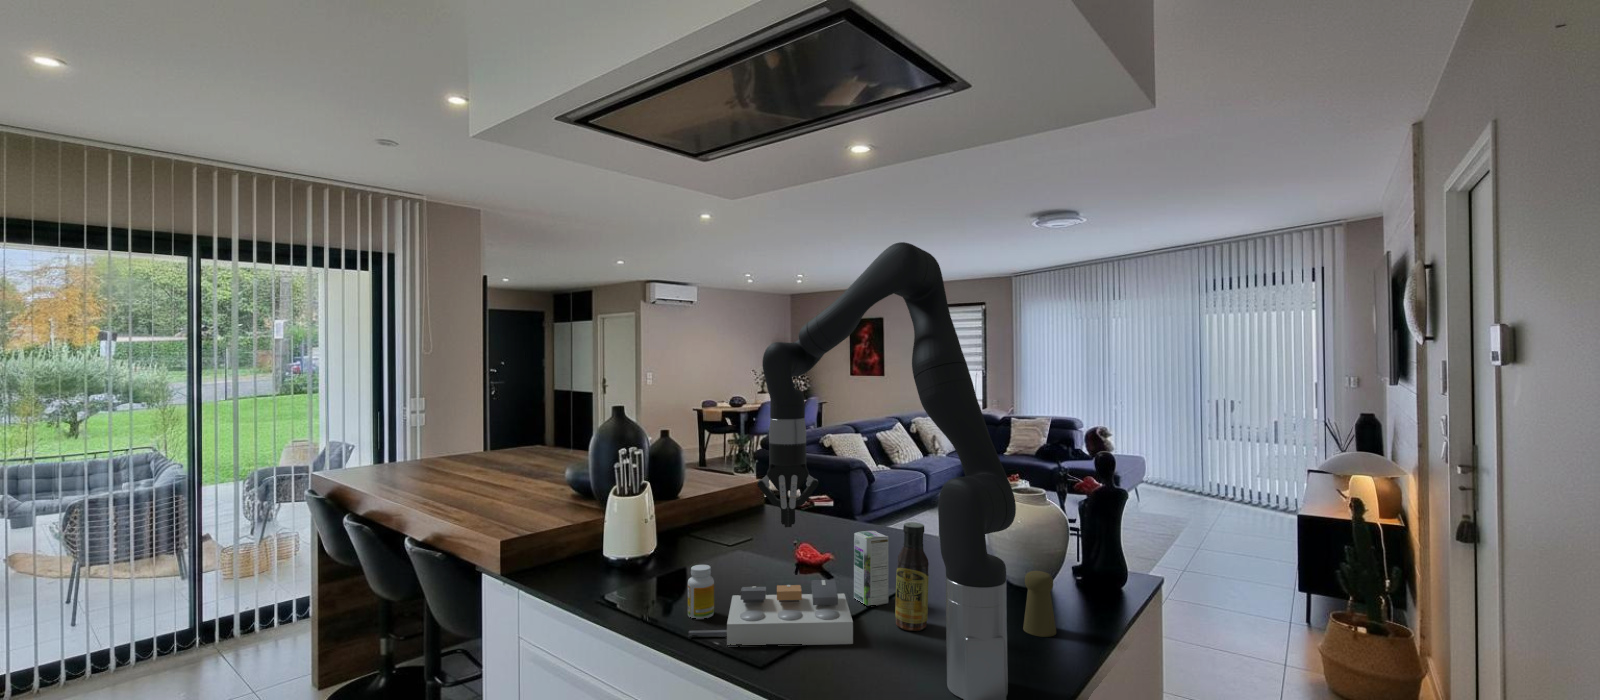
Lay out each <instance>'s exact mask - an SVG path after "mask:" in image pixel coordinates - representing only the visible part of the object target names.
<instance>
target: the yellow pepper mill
mask: <svg viewBox="0 0 1600 700" xmlns="http://www.w3.org/2000/svg"><path fill="white" fill-rule="evenodd" d="M1024 584H1025V587H1026V589H1027V593H1026V602H1025V608H1024V609H1025V610H1024V611H1025V612H1024V619H1023V625H1022V626H1023V627H1022V629H1023V630H1022V631H1024V632H1025V633H1026V634H1029V635H1031V636H1035V637H1036V636H1037V637H1042V638H1043V637H1045V638H1048V637H1053V636H1056V634H1057V628H1056V627H1057V626H1056V621H1055V620H1056V619H1055V614H1054V606H1053V600H1052V593H1051V592H1052V590H1053V589H1054V579H1053V577H1052V575H1051V574H1049V573H1048V572H1045V571H1041V570H1030V571H1028V572H1026V574H1025V576H1024Z"/></svg>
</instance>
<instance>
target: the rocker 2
mask: <svg viewBox="0 0 1600 700" xmlns="http://www.w3.org/2000/svg"><path fill="white" fill-rule="evenodd" d="M802 594H803V593H802V586H801V584H794V585H793V584H785V585H781V584H780V585H779V584H777V585H776V595H777V600H779V602H799V600H802Z"/></svg>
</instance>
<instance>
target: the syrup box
mask: <svg viewBox="0 0 1600 700" xmlns="http://www.w3.org/2000/svg"><path fill="white" fill-rule="evenodd" d="M853 535H854V537H853V539H854V540H853V545H854V546H853V555H854V556H853V599H854V598H855V599H856V600H855V601H857V600H858V601H860V602H861V603H863V604H865V605H876V606H881V605H885V604H889V535H884V534H882V533H879V532H877V531H876V530H865V531H864V530H863V531H858V532H857V531H856V532H855V533H853ZM858 601H857V602H858ZM860 602H859V603H860ZM861 603H860V604H861ZM863 604H862V605H863Z"/></svg>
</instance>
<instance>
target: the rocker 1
mask: <svg viewBox="0 0 1600 700" xmlns="http://www.w3.org/2000/svg"><path fill="white" fill-rule="evenodd" d="M740 595H741V600H743V603H761V602H764V599H766V595H767V586H756V585H755V586H753V585H752V586H742V587H741V589H740Z"/></svg>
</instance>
